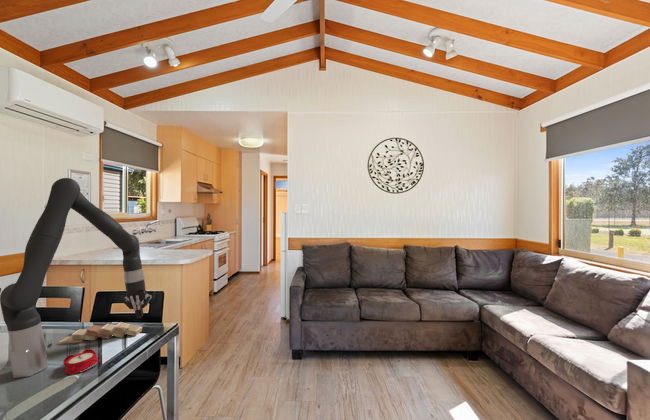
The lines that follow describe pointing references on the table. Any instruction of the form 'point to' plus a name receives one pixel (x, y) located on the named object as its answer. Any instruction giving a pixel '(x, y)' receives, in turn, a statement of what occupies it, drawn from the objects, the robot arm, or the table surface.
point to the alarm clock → (80, 361)
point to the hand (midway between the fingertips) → (139, 317)
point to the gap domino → (97, 332)
